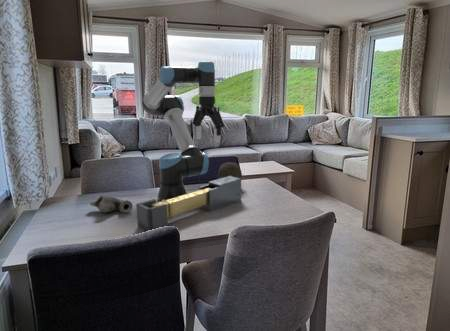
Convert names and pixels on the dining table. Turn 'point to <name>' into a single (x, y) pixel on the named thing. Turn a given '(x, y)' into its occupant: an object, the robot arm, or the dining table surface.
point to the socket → (151, 215)
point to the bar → (185, 202)
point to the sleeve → (222, 192)
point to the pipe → (111, 204)
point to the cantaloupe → (229, 170)
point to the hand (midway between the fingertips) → (208, 140)
